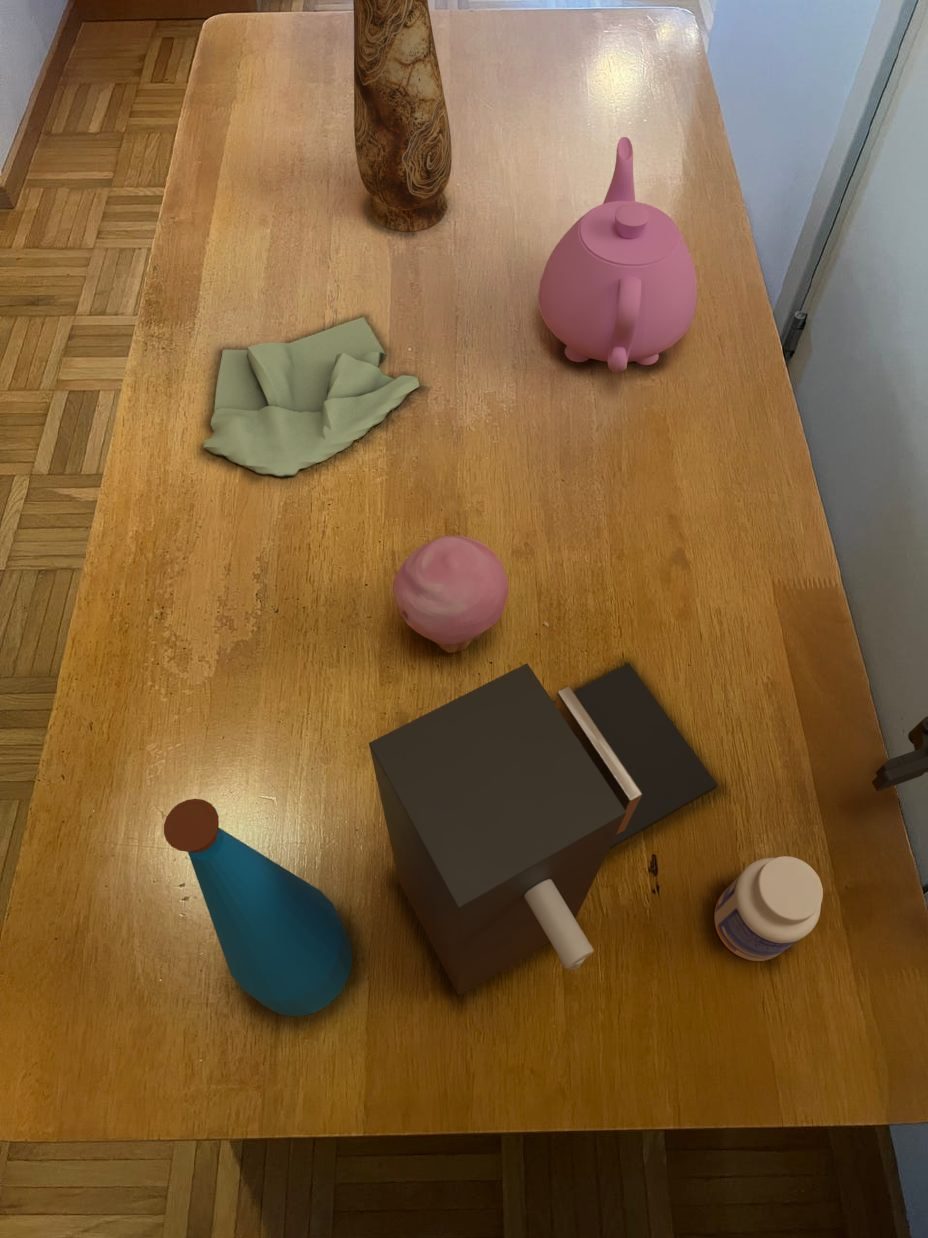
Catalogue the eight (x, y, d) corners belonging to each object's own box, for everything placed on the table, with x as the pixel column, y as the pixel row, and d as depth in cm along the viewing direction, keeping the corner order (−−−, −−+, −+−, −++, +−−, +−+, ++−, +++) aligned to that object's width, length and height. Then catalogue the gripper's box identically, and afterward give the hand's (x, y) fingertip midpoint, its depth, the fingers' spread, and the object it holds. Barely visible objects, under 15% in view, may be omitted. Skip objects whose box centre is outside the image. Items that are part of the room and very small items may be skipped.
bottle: (328, 888, 67) (238, 716, 41) (370, 983, 64) (301, 863, 38) (232, 936, 66) (73, 790, 39) (270, 1037, 62) (124, 951, 36)
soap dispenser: (601, 984, 64) (679, 890, 42) (488, 1054, 62) (505, 995, 39) (505, 822, 70) (527, 662, 47) (398, 881, 67) (368, 742, 45)
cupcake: (456, 567, 81) (456, 497, 72) (526, 631, 78) (534, 566, 69) (378, 627, 78) (367, 561, 69) (447, 696, 75) (445, 636, 66)
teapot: (537, 249, 102) (547, 130, 90) (679, 255, 102) (708, 135, 90) (533, 398, 91) (545, 284, 79) (693, 405, 91) (728, 292, 79)
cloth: (183, 470, 86) (176, 453, 84) (238, 307, 97) (233, 288, 95) (400, 490, 85) (398, 473, 83) (431, 323, 96) (430, 305, 94)
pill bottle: (795, 962, 65) (845, 933, 56) (717, 962, 65) (756, 933, 56) (781, 883, 68) (827, 844, 59) (707, 884, 67) (742, 845, 59)
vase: (451, 236, 103) (448, -73, 77) (355, 236, 103) (320, -73, 77) (452, 178, 108) (449, -131, 82) (361, 177, 108) (329, -131, 82)
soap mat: (716, 787, 71) (718, 785, 71) (584, 863, 68) (585, 861, 68) (627, 665, 76) (629, 662, 76) (501, 731, 73) (502, 728, 73)
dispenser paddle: (624, 830, 52) (643, 794, 47) (613, 837, 52) (630, 801, 47) (558, 729, 55) (568, 684, 50) (547, 735, 55) (556, 691, 50)
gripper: (1083, 652, 64) (876, 723, 61) (1232, 847, 57) (1007, 937, 54) (1025, 699, 70) (836, 765, 67) (1153, 879, 63) (949, 960, 61)
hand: (913, 842), depth 61 cm, fingers open, 8 cm apart
